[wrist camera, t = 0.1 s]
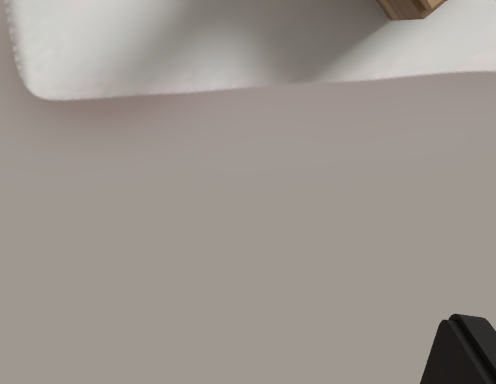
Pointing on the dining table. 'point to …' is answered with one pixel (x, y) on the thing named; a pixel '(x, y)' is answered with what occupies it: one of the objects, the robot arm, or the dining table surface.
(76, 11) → the dining table surface
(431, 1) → the lid
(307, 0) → the dining table surface
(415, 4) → the toolbox
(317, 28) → the dining table surface
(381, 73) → the dining table surface
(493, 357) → the robot arm
